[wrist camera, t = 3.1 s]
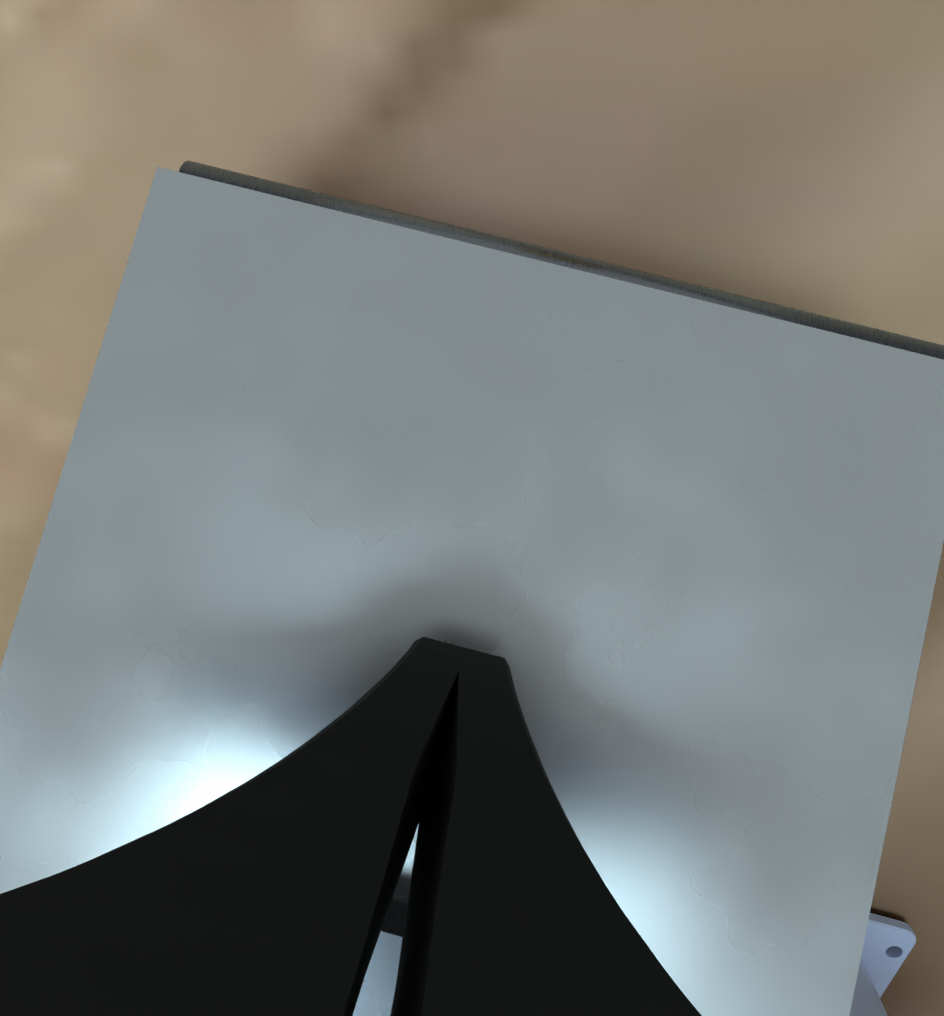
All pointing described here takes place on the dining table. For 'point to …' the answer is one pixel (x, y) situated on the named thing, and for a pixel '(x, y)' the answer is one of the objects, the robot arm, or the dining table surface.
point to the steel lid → (491, 561)
